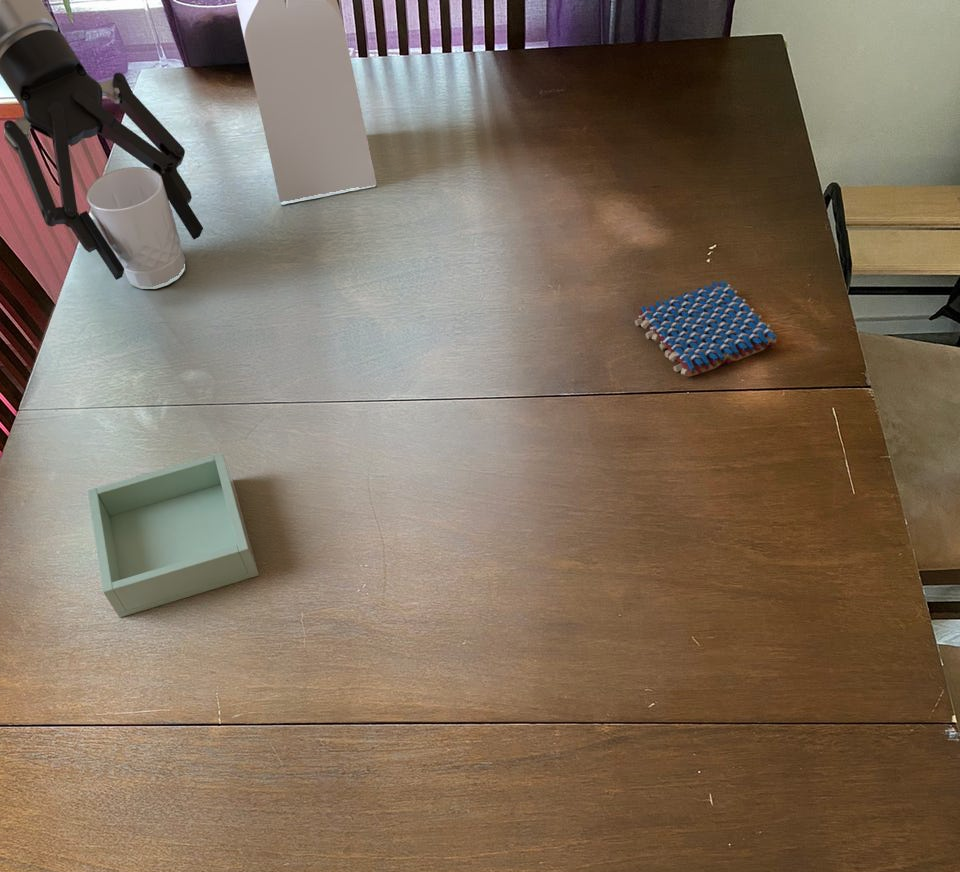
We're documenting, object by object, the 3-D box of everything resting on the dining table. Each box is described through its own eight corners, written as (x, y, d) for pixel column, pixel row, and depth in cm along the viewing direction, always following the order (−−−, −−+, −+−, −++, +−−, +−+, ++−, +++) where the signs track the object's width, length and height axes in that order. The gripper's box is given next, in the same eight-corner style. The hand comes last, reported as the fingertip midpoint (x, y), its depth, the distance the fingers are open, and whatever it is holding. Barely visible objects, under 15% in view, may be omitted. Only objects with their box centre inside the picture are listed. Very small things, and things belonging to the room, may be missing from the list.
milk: (377, 187, 118) (335, -66, 97) (280, 206, 117) (217, -45, 96) (360, 135, 125) (318, -112, 103) (269, 152, 124) (208, -93, 102)
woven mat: (721, 290, 103) (724, 273, 101) (779, 351, 97) (783, 334, 95) (631, 321, 101) (632, 304, 99) (684, 385, 95) (686, 368, 94)
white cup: (125, 255, 114) (90, 171, 105) (193, 246, 114) (164, 162, 105) (118, 298, 109) (81, 214, 101) (190, 289, 109) (159, 204, 101)
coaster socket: (119, 618, 84) (102, 592, 81) (102, 517, 91) (87, 490, 88) (259, 575, 86) (248, 548, 83) (233, 479, 92) (222, 451, 89)
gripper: (119, 29, 108) (238, 222, 114) (-69, 108, 101) (68, 310, 107) (125, -10, 101) (251, 197, 107) (-76, 72, 94) (70, 289, 100)
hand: (159, 253), depth 107 cm, fingers open, 9 cm apart
